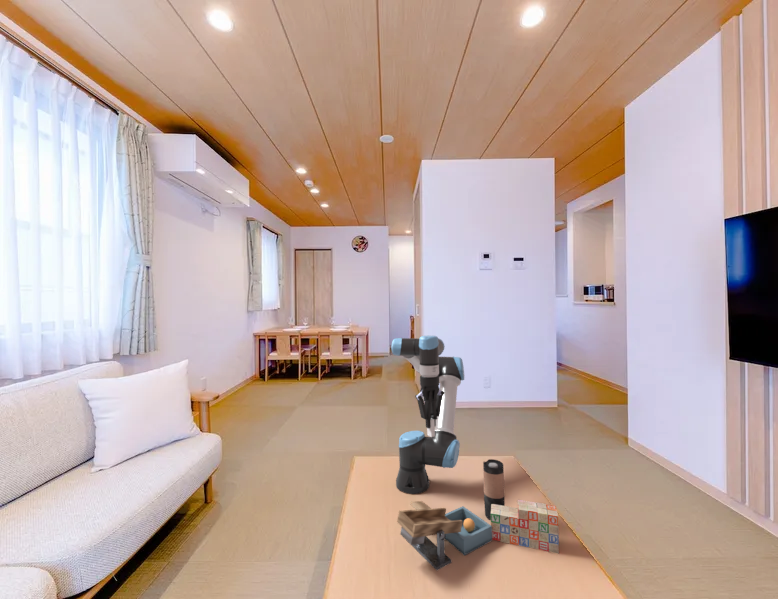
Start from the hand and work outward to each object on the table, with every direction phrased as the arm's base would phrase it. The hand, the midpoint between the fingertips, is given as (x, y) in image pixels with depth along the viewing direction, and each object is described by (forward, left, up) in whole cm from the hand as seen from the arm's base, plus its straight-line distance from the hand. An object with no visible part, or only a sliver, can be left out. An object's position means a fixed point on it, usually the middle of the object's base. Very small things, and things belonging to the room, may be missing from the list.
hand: (431, 435), depth 134 cm
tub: (+16, +1, -30) cm, 34 cm away
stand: (+16, -14, -30) cm, 37 cm away
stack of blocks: (+29, +17, -31) cm, 45 cm away
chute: (+11, -15, -25) cm, 31 cm away
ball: (+16, +4, -27) cm, 32 cm away
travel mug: (+14, +19, -31) cm, 39 cm away
